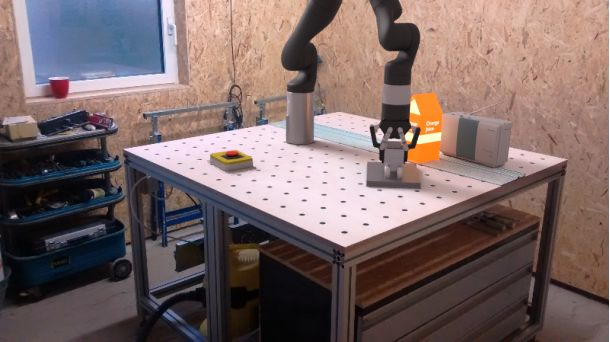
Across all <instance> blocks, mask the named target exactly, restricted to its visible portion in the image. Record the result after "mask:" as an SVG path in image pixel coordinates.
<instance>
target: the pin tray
mask: <svg viewBox="0 0 610 342" xmlns="http://www.w3.org/2000/svg"><path fill="white" fill-rule="evenodd" d="M417 166H418V165H417V163H415V162H405V164H403V168H402V167H397V171H390V167H388V166H386V167H385V171H384V165H383V163H381V161H367V162H366V178H365V179H366V181H365V182H366V183H365V184H366V185H365V187H372V188H373V187H378V188H399V189H421V188H422V181H421V177H420V173H419V170H418V169H419V168H418V167H417ZM402 171H403V172H402Z"/></svg>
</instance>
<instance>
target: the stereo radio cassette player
mask: <svg viewBox="0 0 610 342" xmlns="http://www.w3.org/2000/svg"><path fill="white" fill-rule="evenodd" d="M510 100H512V98H511V97H509V98H507V99H505V100H502V101H499V102H496V103H493V104H490V105H488V106H485V107H482V108H480V109H477V110H475V111H472V112H470V113H469V112H464V111H453V112H452V111H451V112H447V113H446V112H445V113H443V115H442V128H441V141H440V152H441V154H443V155H446V156H450V157H453V158H459V159H462V160H466V161H470V162H473V163H477V164H480V165H484V166H489V167H491V168H493V169H495V168H497V167H500V166H502V165H505V164H506V163H507V162H508V160H509V153H510V144H511V138H512V137H511V136H512V135H511V134H512V128H513V126H514V123H513V121H512V120H511V121H510V120H505V119H500V118H496V117H495V118H494V117H489V116H486V115H485V116H484V115H479V114H476V113H479V112H481V111H484V110H486V109H488V108H489V109H490V108H492V107H494V106H497V105H499V104H501V103H504V102H506V101H510Z"/></svg>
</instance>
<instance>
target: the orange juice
mask: <svg viewBox="0 0 610 342" xmlns="http://www.w3.org/2000/svg"><path fill="white" fill-rule="evenodd" d="M443 114H444V112H443V110H442V108H441V105H440V102H439V100H438V97H437V94H436V92H428V93H417V94H413V95H411V106H410V123H411V125H413V126H420V128H421V131H420V135H419V138H418V141H417V144H416V147H415V149H410V150H409V151H408V161H409V162H411V163H416V164H417V163H418V164H422V163H421V162H423V163H426V162H427V161H428V162H432V161H431V160H434V161H438V160H437V159H439V160H440V141H441V128H442V115H443ZM405 138H406V141H407V144H410V143H411V141H412V138H413V133H412V130H411V129H410V130H409V131H408V132H407V134H406V135H405Z"/></svg>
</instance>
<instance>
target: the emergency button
mask: <svg viewBox="0 0 610 342" xmlns="http://www.w3.org/2000/svg"><path fill="white" fill-rule="evenodd" d="M206 162H207V163H209V164H210V165H213V166H214V167H215V168H218V170H219V169H220V170H221V171H223V172H224V173H227V174H233V173H237V172H244V171H249V170H254V169H256V168H257V167H256V166H254V160H253V157H252V156H250V155H248V154H245V153H244V152H242V151H239V150H238V149H237V150H236V149H231V150H224V151H219V152H211V153H209V159H208V160H206Z"/></svg>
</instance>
